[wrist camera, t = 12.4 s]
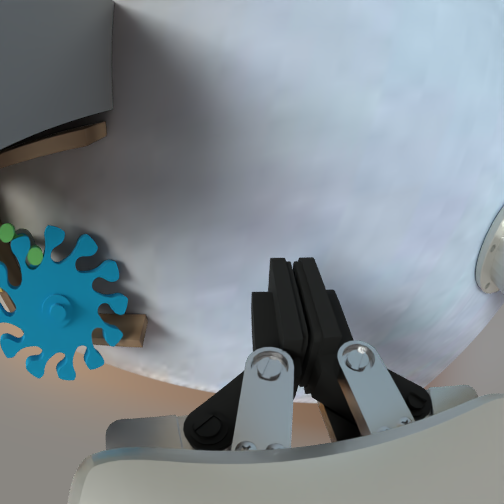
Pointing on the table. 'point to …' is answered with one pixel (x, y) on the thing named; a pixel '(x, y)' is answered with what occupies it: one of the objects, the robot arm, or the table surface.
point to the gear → (56, 301)
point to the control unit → (53, 64)
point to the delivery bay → (53, 143)
